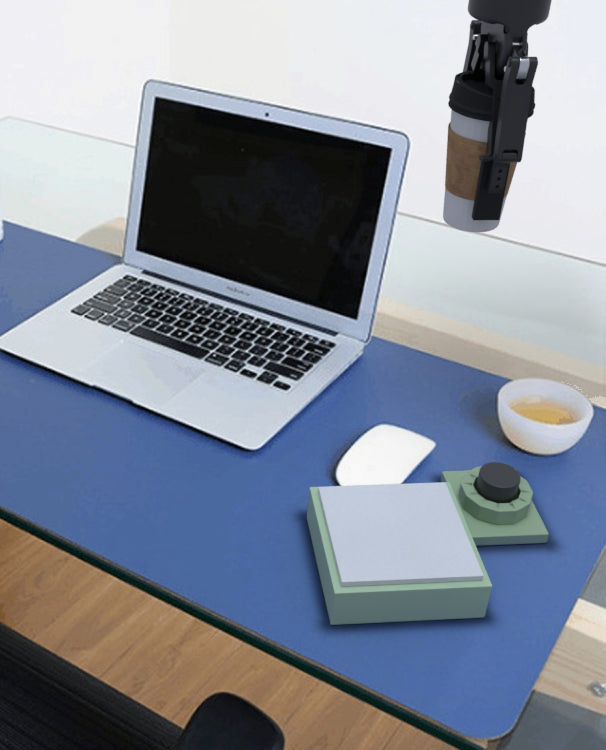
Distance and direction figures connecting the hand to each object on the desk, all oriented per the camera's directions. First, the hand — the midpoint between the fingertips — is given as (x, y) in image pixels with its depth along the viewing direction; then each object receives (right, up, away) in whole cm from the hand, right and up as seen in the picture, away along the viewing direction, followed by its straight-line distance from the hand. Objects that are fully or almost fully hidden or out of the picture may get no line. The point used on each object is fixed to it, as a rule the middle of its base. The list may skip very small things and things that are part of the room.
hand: (474, 201), depth 106 cm
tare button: (+1, -30, -6) cm, 30 cm away
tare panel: (+1, -32, -4) cm, 32 cm away
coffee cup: (0, -2, +1) cm, 2 cm away
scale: (-11, -36, -11) cm, 39 cm away
